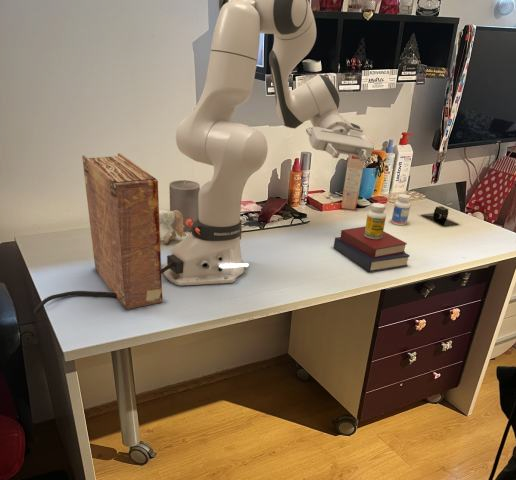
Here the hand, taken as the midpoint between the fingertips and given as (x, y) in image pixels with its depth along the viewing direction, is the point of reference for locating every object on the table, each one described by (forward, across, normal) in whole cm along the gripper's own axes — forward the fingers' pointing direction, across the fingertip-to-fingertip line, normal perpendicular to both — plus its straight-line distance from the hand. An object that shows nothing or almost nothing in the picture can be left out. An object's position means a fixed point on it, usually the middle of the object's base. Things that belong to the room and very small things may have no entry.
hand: (350, 157), depth 155 cm
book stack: (+19, +9, +21) cm, 30 cm away
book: (+25, -63, +31) cm, 74 cm away
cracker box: (-27, +28, +34) cm, 52 cm away
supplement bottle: (+17, +8, +15) cm, 24 cm away
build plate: (-7, +53, +23) cm, 58 cm away
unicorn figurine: (0, -51, +37) cm, 63 cm away
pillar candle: (-14, -39, +40) cm, 57 cm away
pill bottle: (-6, +36, +25) cm, 44 cm away
